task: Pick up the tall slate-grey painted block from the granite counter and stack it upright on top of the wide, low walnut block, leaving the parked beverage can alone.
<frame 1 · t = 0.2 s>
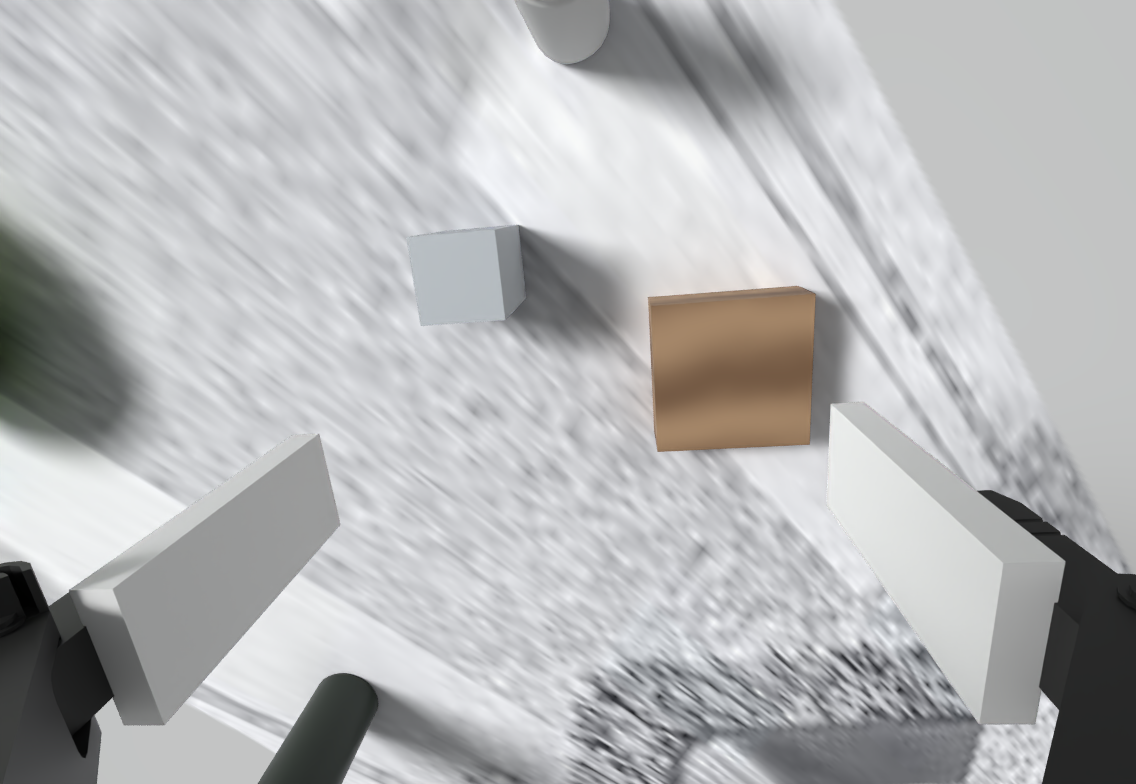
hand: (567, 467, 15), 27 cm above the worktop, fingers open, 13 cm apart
walnut block: (721, 361, 41), on the worktop
slate block: (487, 265, 40), on the worktop
beverage can: (570, 23, 35), on the worktop
wine bottle: (348, 696, 54), on the worktop
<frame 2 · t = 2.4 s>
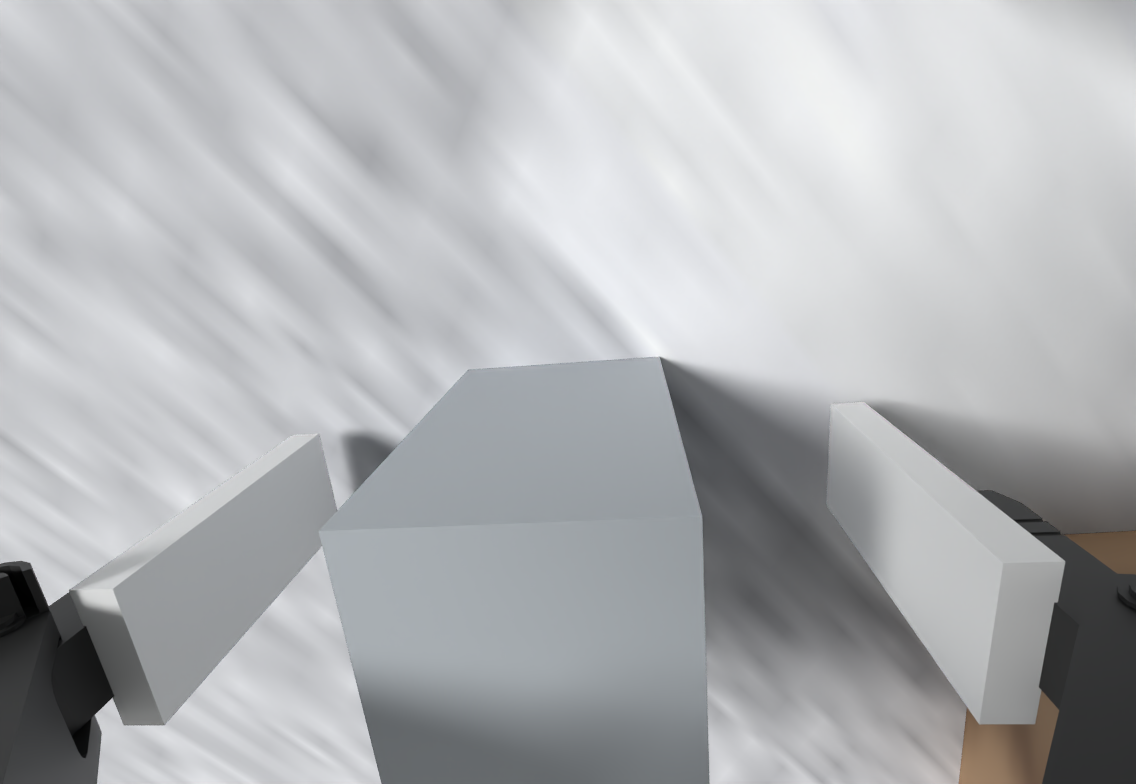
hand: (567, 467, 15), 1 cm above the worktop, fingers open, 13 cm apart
slate block: (570, 451, 16), on the worktop
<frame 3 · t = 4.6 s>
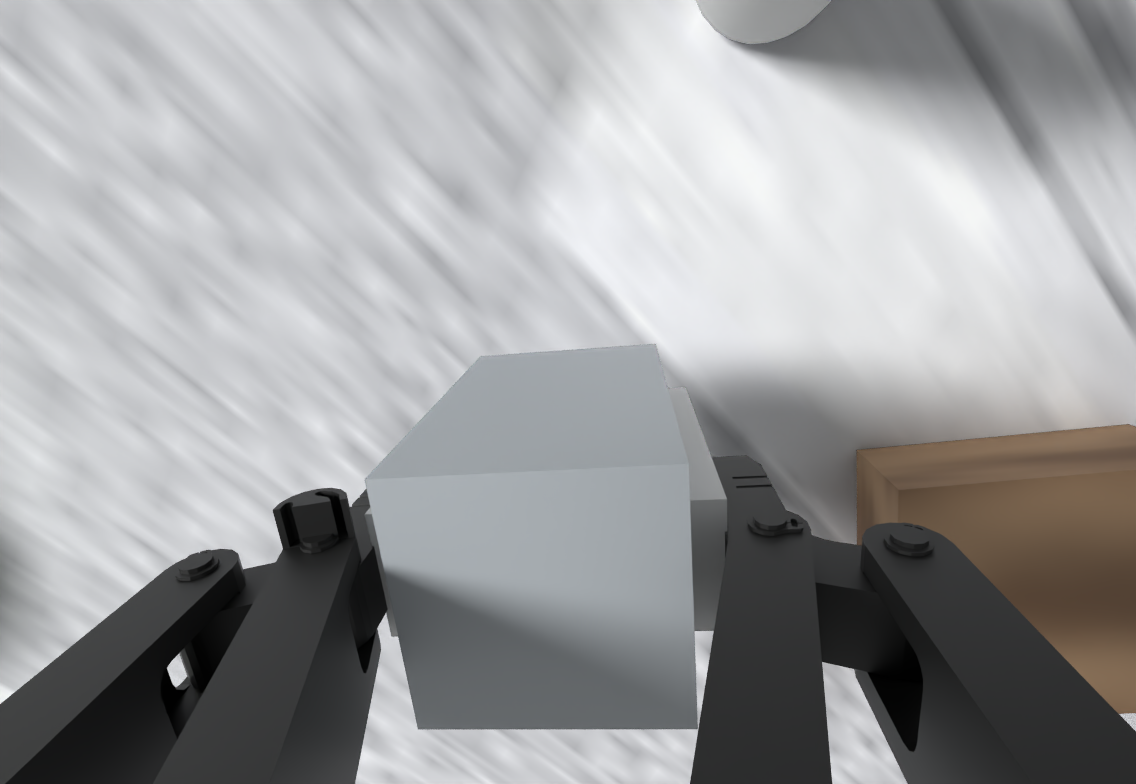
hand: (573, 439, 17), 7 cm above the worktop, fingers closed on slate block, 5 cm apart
walnut block: (977, 544, 24), on the worktop
slate block: (574, 432, 17), point 7 cm above the worktop, touching gripper
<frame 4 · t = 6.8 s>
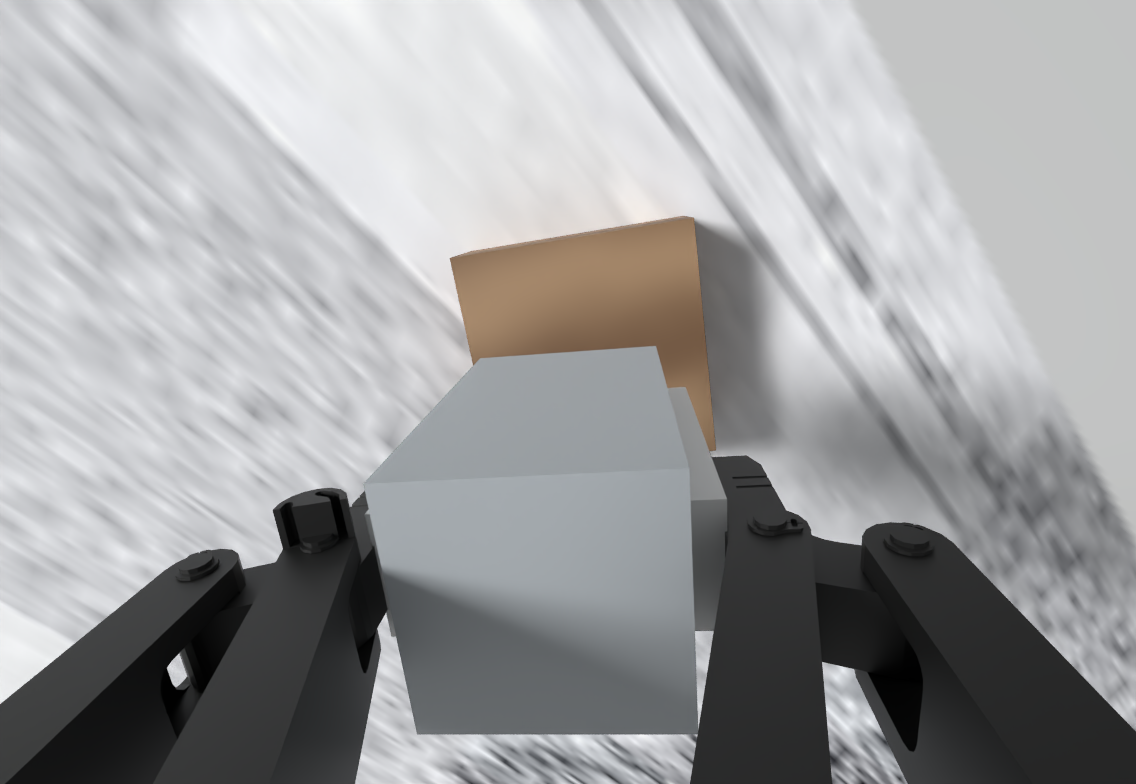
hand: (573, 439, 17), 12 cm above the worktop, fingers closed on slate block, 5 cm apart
walnut block: (591, 337, 29), on the worktop
slate block: (574, 434, 17), point 12 cm above the worktop, touching gripper
when the fingers open (4 cm above the worktop, at t = 9.2 s): slate block stays where it is, resting on walnut block.
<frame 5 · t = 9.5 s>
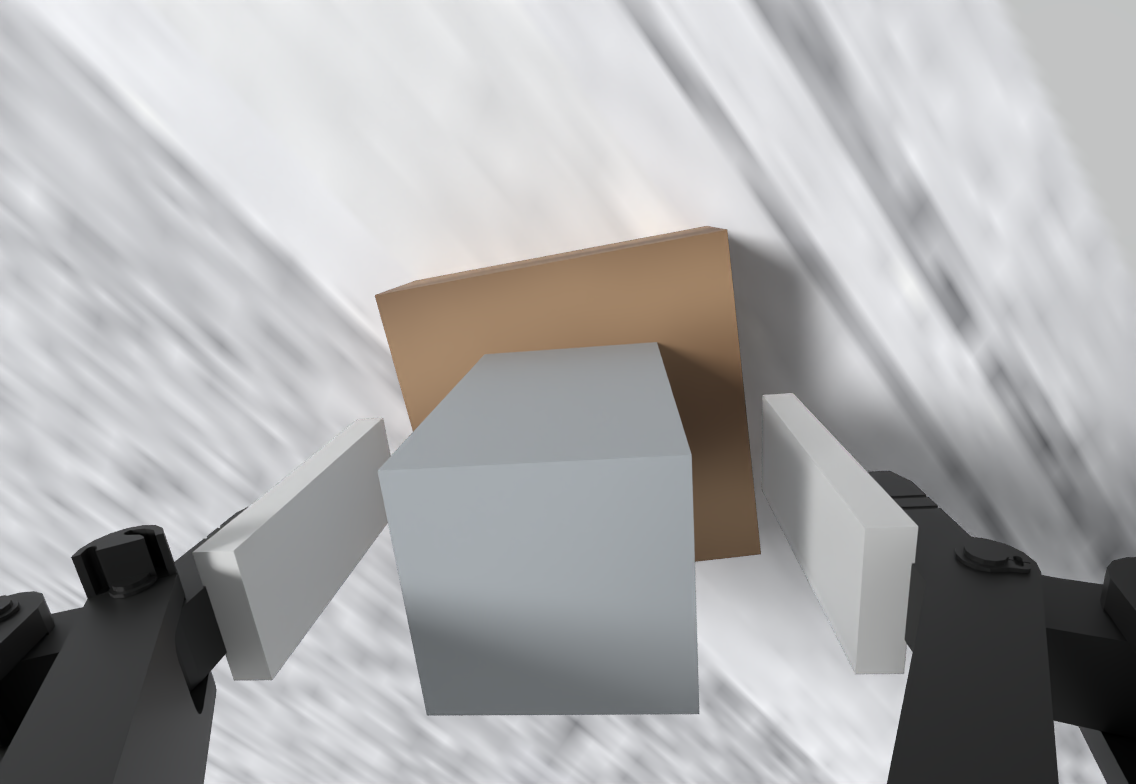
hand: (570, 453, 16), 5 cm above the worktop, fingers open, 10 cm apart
walnut block: (583, 390, 21), on the worktop, touching slate block
slate block: (576, 429, 17), point 4 cm above the worktop, touching walnut block
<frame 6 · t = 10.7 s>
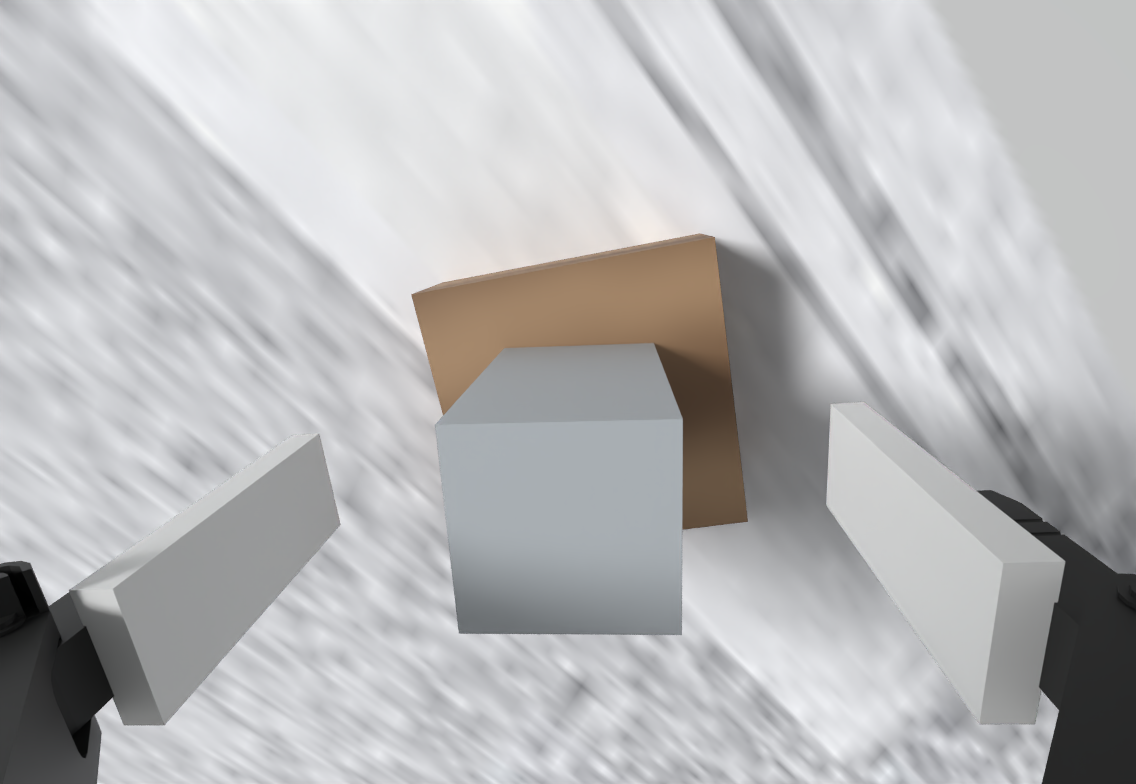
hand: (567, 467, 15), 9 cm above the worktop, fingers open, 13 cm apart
walnut block: (590, 380, 24), on the worktop, touching slate block
slate block: (581, 416, 20), point 4 cm above the worktop, touching walnut block
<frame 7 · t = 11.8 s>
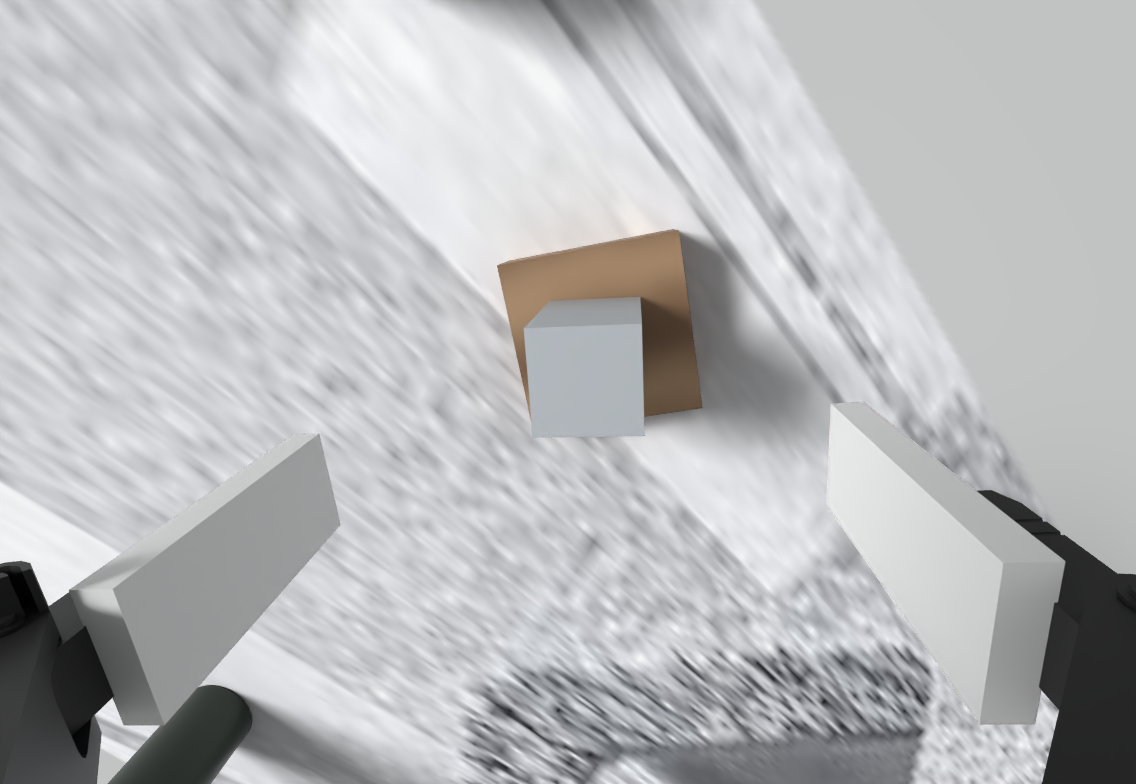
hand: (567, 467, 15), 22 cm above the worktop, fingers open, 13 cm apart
walnut block: (603, 325, 36), on the worktop, touching slate block
slate block: (596, 343, 33), point 4 cm above the worktop, touching walnut block
wine bottle: (220, 710, 48), on the worktop
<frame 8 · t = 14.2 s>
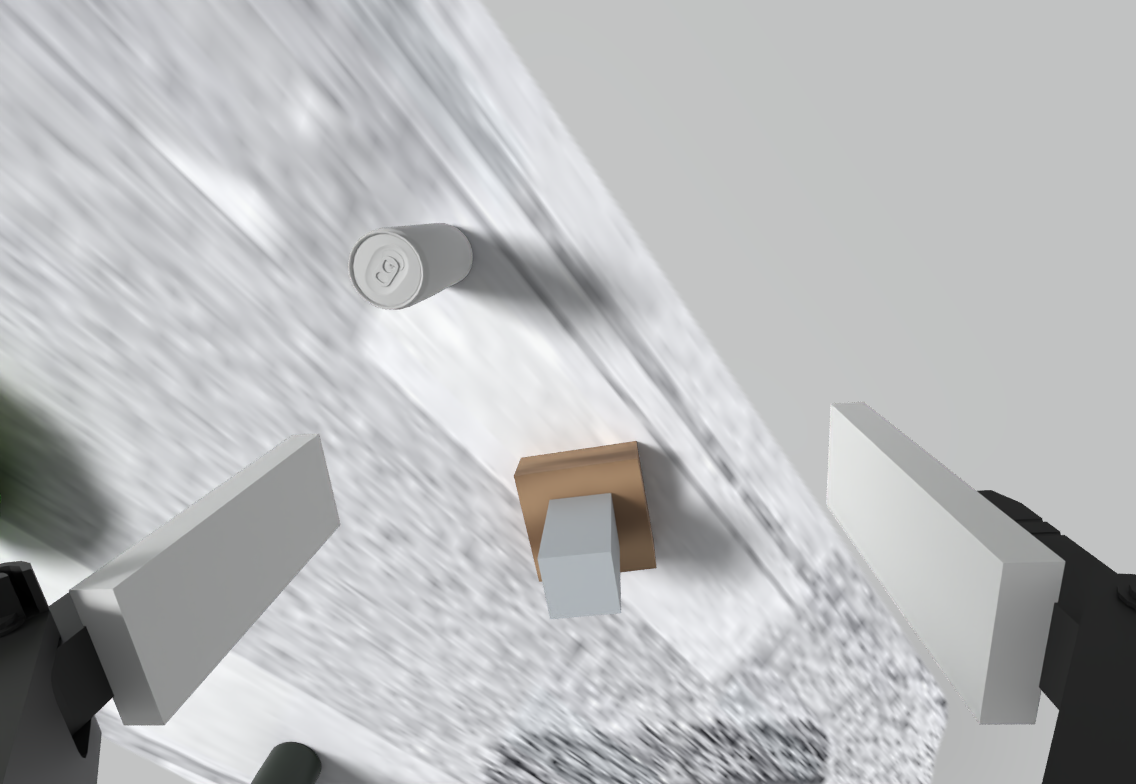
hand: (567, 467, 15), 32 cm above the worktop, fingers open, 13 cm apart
walnut block: (588, 499, 51), on the worktop, touching slate block
slate block: (584, 523, 47), point 4 cm above the worktop, touching walnut block
beverage can: (445, 254, 45), on the worktop
wine bottle: (297, 760, 63), on the worktop
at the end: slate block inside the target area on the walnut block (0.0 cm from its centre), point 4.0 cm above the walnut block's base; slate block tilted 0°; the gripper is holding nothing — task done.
